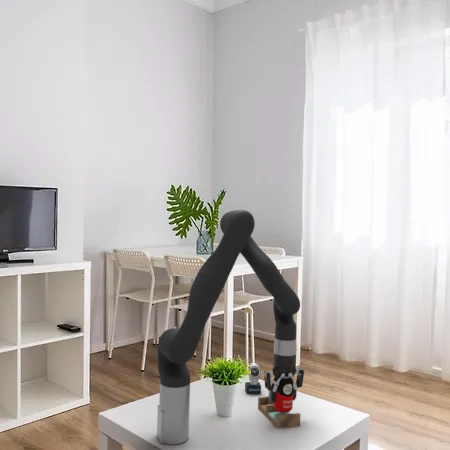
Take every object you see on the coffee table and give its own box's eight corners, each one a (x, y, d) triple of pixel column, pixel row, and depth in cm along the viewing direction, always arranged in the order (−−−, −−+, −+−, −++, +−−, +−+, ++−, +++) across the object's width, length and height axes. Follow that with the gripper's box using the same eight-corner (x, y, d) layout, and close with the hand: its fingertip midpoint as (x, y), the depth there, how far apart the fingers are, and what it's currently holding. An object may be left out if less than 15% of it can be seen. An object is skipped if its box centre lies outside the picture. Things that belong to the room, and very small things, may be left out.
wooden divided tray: (277, 428, 166) (278, 399, 165) (257, 408, 182) (258, 381, 182) (299, 426, 168) (301, 397, 168) (278, 406, 185) (279, 380, 184)
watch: (247, 396, 193) (248, 367, 193) (244, 388, 201) (245, 360, 201) (262, 395, 194) (263, 367, 193) (258, 388, 202) (259, 360, 201)
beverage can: (271, 411, 170) (272, 376, 169) (276, 405, 176) (277, 370, 175) (290, 415, 168) (291, 379, 167) (294, 408, 174) (295, 373, 173)
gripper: (299, 347, 177) (297, 394, 178) (260, 349, 172) (259, 398, 173) (309, 353, 170) (307, 403, 170) (269, 356, 165) (267, 407, 166)
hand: (283, 400), depth 172 cm, fingers closed on beverage can, 6 cm apart
